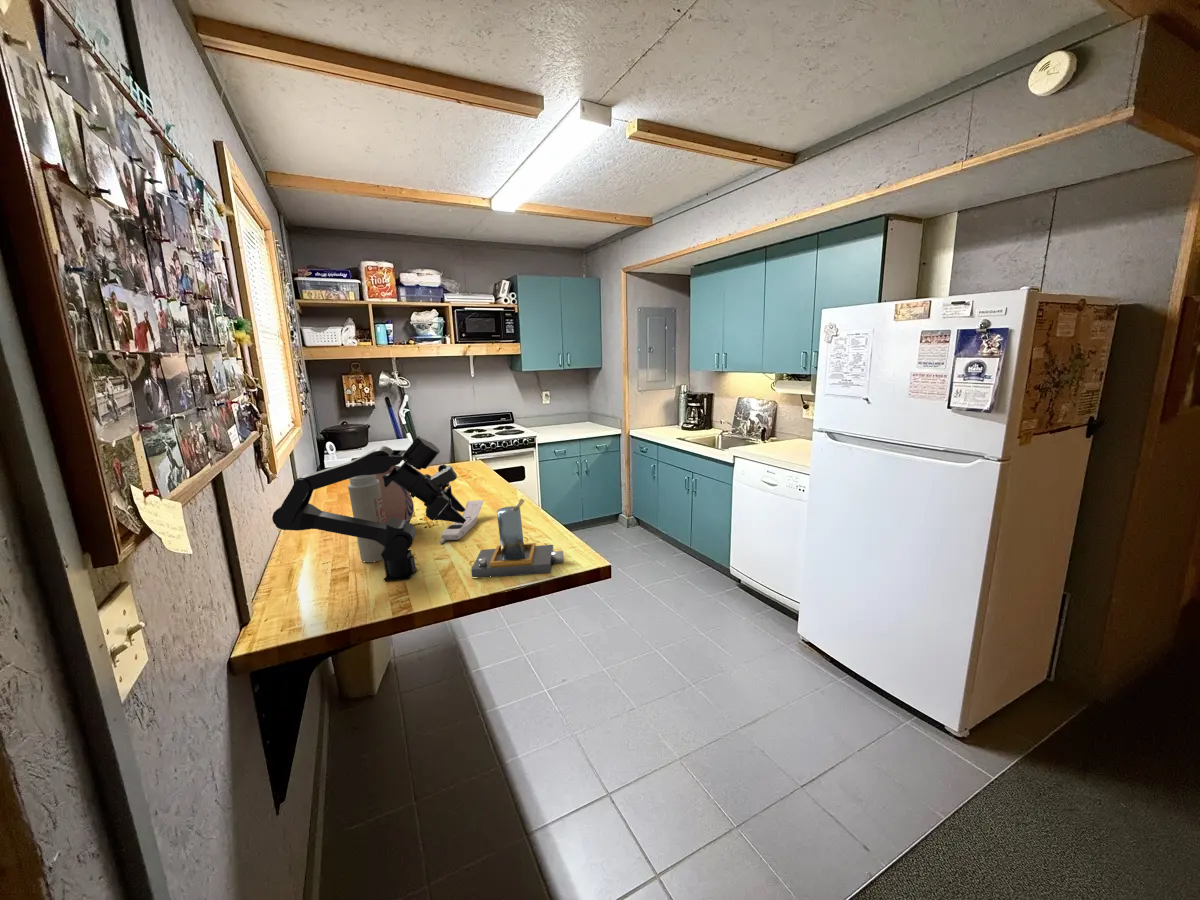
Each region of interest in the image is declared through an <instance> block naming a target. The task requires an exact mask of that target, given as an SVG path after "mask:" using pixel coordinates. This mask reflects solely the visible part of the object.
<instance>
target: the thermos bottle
mask: <svg viewBox="0 0 1200 900" xmlns="http://www.w3.org/2000/svg"><path fill="white" fill-rule="evenodd" d="M348 481H349V484H348V485H347V489H348V494H349V498H350V506H351V510H352V516H353V517H354V518H359V519H364V520H368V521H373V522H378V523H385V522H386V519H385V513H384V507H383V501H382V495H381V488H380V482H379V480H376V475H375V474H374V475H361V476H356V477H353V478H349V479H348ZM356 538H357V544H358V551H359V557H360V561H361V560H362V561H365V562H373V563H375V562H374V561H378V562H380V561H379V560H382V559H383V558H382V556H381V553H382V551H383V549H384V546H382V545H381V544H379V543H378V542H376V541H374V540H369V539H364V538H359V537H356ZM362 561H361V562H362ZM382 561H383V560H382ZM365 562H364V563H365Z"/></svg>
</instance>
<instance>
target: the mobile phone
mask: <svg viewBox="0 0 1200 900" xmlns="http://www.w3.org/2000/svg"><path fill="white" fill-rule="evenodd" d="M483 505H484V500H467V502H466V504H465V507H464V508H465V511H464V512H462V516H463V517H464V518H465V519H466V521H465V523H457V522H452V523H453V524H450V525H449V526H448V527H446V529H445V530H444V531H442V533H441V540H440V541H439V544H444V542H446V541H454V540H455V541H456V540H460V539H461V538H465V536H466V534H467V533H468V532H469V531H470V530H471V529H472V528H473V527H474V526H475V525H476V524H477V522H478V517H479V513H480V511H481V509H482V506H483Z"/></svg>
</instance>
